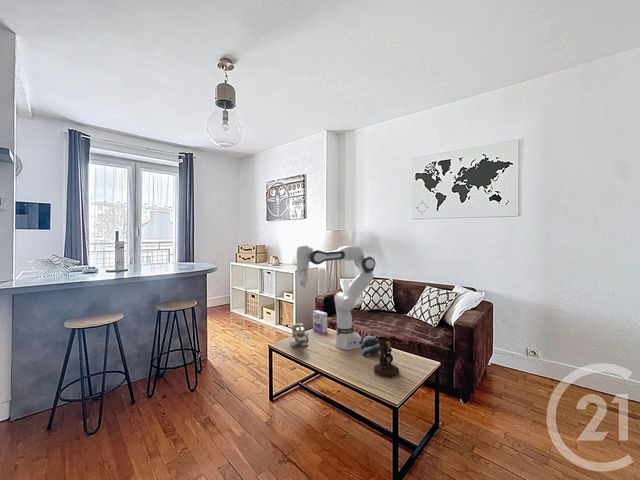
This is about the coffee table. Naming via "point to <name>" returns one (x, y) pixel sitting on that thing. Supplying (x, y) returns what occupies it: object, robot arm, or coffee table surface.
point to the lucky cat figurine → (369, 345)
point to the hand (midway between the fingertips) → (303, 286)
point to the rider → (300, 331)
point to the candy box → (320, 321)
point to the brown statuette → (386, 360)
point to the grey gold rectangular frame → (299, 337)
